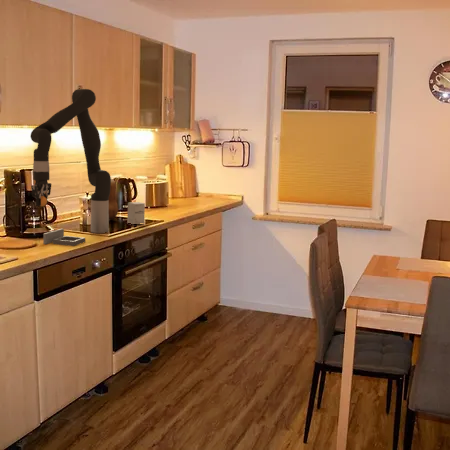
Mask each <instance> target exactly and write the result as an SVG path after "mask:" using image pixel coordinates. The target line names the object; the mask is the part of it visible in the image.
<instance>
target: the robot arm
mask: <svg viewBox="0 0 450 450" xmlns="http://www.w3.org/2000/svg"><path fill="white" fill-rule="evenodd" d="M96 99H97V97H96V93H95V92H94V91H93V90H92V89H89V88H79V89H77V88H76V89H75V90H73V92H72V94H71V102H72V103H71V104H70V105H68V106H66V107H64V108H63V109H60V110H58V111H57V112H56V113H55V114H53V115H52V116H51V117H49V118H48V119H47V120H46V121H45V122H43V123H41V124H39V125H38V126H36V127H34V129H32V130H31V132H30V140H31V141H32V142H33V143H36V144H37V148H34V149H33V163H32V166H33V167H32V169H33V170H32V171H33V173H32V176H33V177H32V179H33V180H34V181H35V182H34V184H33V185H31V186H30V187H31V194H32V197H33V198H35V206H37V207H42V206H41V196H44V197H45V198H46V199H47V200H48V197H49V196H50V195H51V193H52V192H51V191H52V183H50V182H48V181H50V178H51V177H50V160H49V159H50V157H49V155H50V154H49V153H50V149H51V144H52V134H56V133H57V132H59V131H60V130H61V129H62V128H64V126H65V125H67V124H68V123H69V122H70V121H72V120H73V119H74V118H76V119H77V122H78V123H77V124H78V128H79V132H80V138H81V143H82V147H83V153H84V157H85V161H86V169H87V170H86V171H87V177H88V178H87V179H88V182H89V184H90V185H91V186H93V187H95V188H94V192H93V193H92V194H91V195H90V232H91V233H94V234H105V232H107V233H109V222H110V220H109V214H108V210H109V195H110V189H111V179H112V177H111V175H110V172H109V171H107V170H104V169H101V164H100V158H99V157H100V153H101V148H102V147H101V146H102V143H101V137H100V132H99V130H98V128H97V126H96V124H95V123H94V121H93V119H92V118H91V115H90V111H89V108H91V107H93V106H94V105H95V103H96Z"/></svg>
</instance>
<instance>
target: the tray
mask: <svg viewBox="0 0 450 450" xmlns="http://www.w3.org/2000/svg"><path fill="white" fill-rule="evenodd" d="M83 242H84V243H86V237H83V236H71V235H64V236H63V237H60V238H56V239H53V242H52V244H53V245H60V246H70V247H75V246H78V245H80V243H81V244H83ZM74 245H75V246H74Z"/></svg>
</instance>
